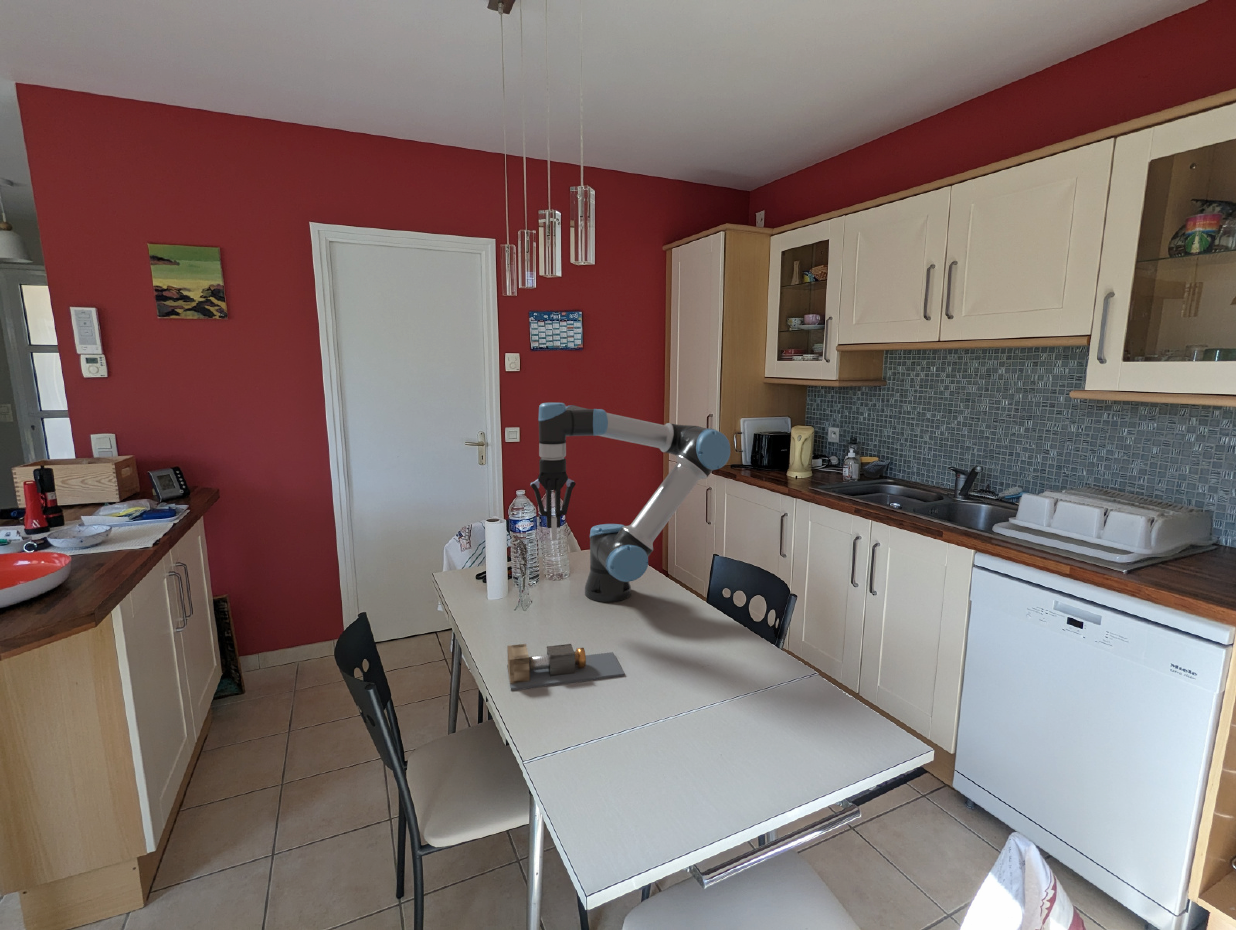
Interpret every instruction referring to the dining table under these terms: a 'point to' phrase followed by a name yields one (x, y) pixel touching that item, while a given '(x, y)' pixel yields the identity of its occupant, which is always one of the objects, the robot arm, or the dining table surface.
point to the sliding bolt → (544, 660)
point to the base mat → (594, 669)
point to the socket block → (518, 663)
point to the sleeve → (561, 660)
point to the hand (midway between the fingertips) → (553, 538)
